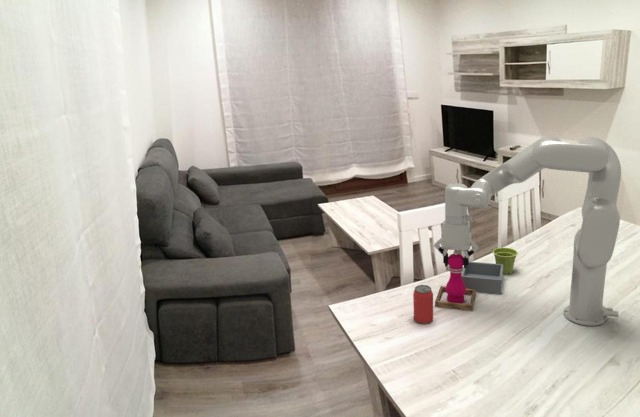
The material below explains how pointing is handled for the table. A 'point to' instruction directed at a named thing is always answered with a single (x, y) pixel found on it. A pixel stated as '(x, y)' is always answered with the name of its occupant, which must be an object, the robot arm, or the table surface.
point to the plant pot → (505, 258)
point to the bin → (483, 277)
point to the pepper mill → (455, 279)
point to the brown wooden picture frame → (455, 305)
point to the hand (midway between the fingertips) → (455, 265)
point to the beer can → (423, 304)
